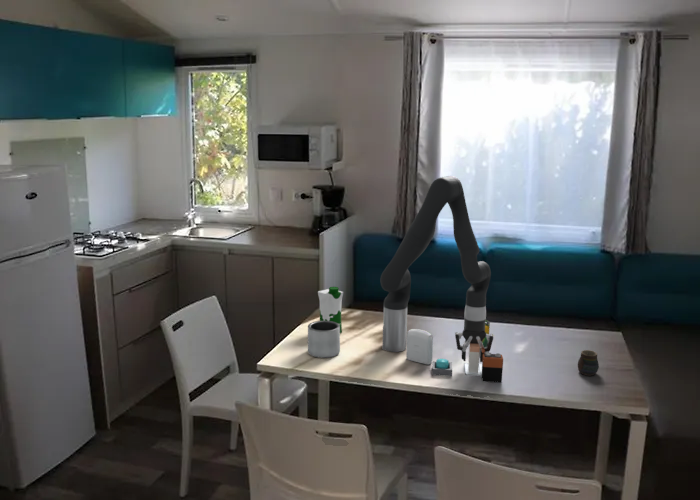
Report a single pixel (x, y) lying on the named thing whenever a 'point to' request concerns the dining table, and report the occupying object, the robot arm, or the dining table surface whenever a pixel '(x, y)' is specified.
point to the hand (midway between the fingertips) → (472, 360)
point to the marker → (474, 358)
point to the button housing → (442, 370)
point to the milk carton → (331, 305)
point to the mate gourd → (588, 363)
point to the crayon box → (487, 326)
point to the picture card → (472, 372)
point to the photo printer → (419, 346)
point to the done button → (442, 363)
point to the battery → (492, 367)
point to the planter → (323, 339)
